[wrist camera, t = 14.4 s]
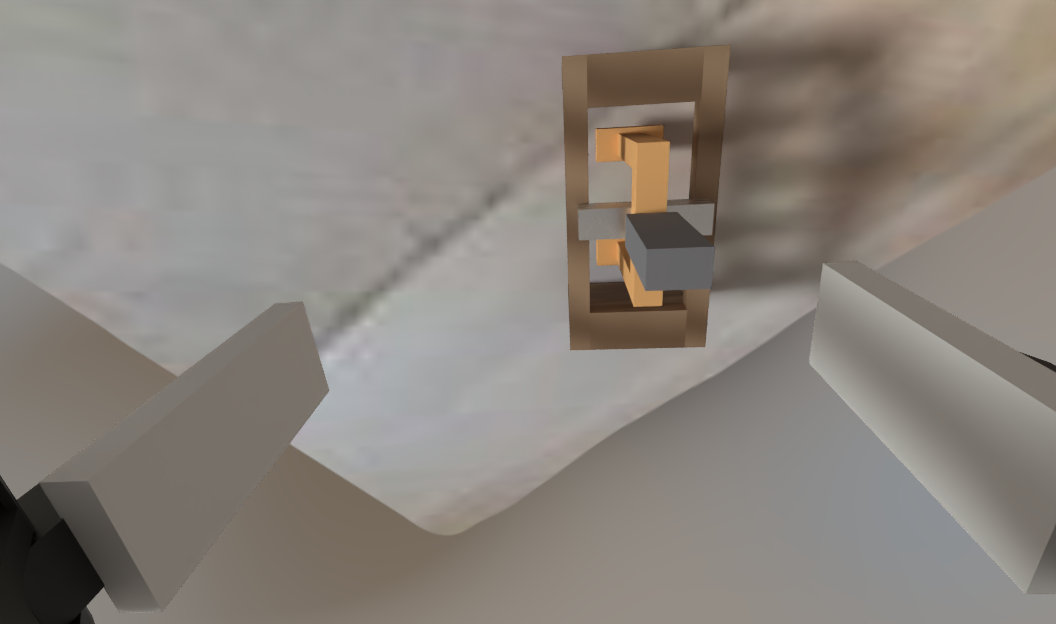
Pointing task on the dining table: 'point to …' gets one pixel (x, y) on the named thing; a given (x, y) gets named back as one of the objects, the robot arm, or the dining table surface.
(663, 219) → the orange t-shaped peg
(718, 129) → the brown frame with crossbar
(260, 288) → the dining table surface
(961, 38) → the dining table surface
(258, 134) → the dining table surface
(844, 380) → the robot arm
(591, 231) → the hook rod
